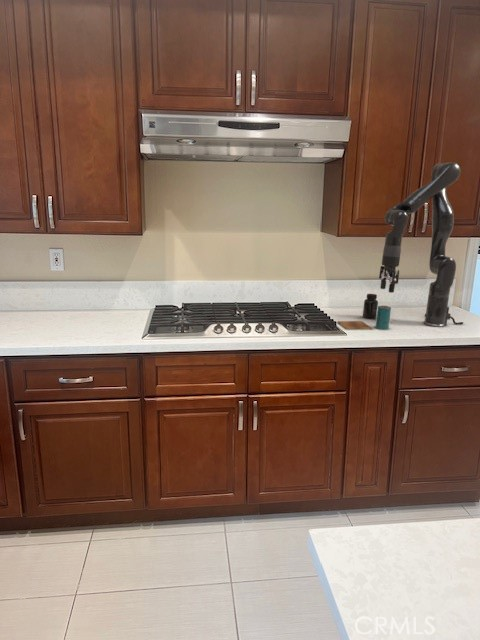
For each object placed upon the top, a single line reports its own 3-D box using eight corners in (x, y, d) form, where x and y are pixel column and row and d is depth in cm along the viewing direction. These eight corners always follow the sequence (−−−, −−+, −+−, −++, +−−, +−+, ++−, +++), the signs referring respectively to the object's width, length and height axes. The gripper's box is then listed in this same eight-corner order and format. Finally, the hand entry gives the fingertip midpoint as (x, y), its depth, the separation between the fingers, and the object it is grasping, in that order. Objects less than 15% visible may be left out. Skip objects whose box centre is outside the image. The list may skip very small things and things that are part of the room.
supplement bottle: (376, 319, 232) (379, 296, 229) (362, 318, 233) (365, 295, 230) (375, 316, 238) (378, 293, 235) (362, 315, 240) (364, 292, 237)
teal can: (385, 326, 220) (387, 305, 218) (390, 329, 215) (393, 308, 212) (373, 326, 220) (375, 305, 217) (378, 329, 214) (381, 308, 211)
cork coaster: (361, 322, 226) (361, 321, 226) (371, 329, 214) (371, 327, 214) (337, 322, 224) (337, 321, 224) (346, 329, 213) (347, 328, 212)
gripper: (407, 257, 203) (401, 293, 207) (392, 253, 216) (387, 287, 220) (390, 256, 201) (386, 293, 206) (376, 253, 215) (372, 287, 219)
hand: (386, 290), depth 213 cm, fingers open, 8 cm apart
